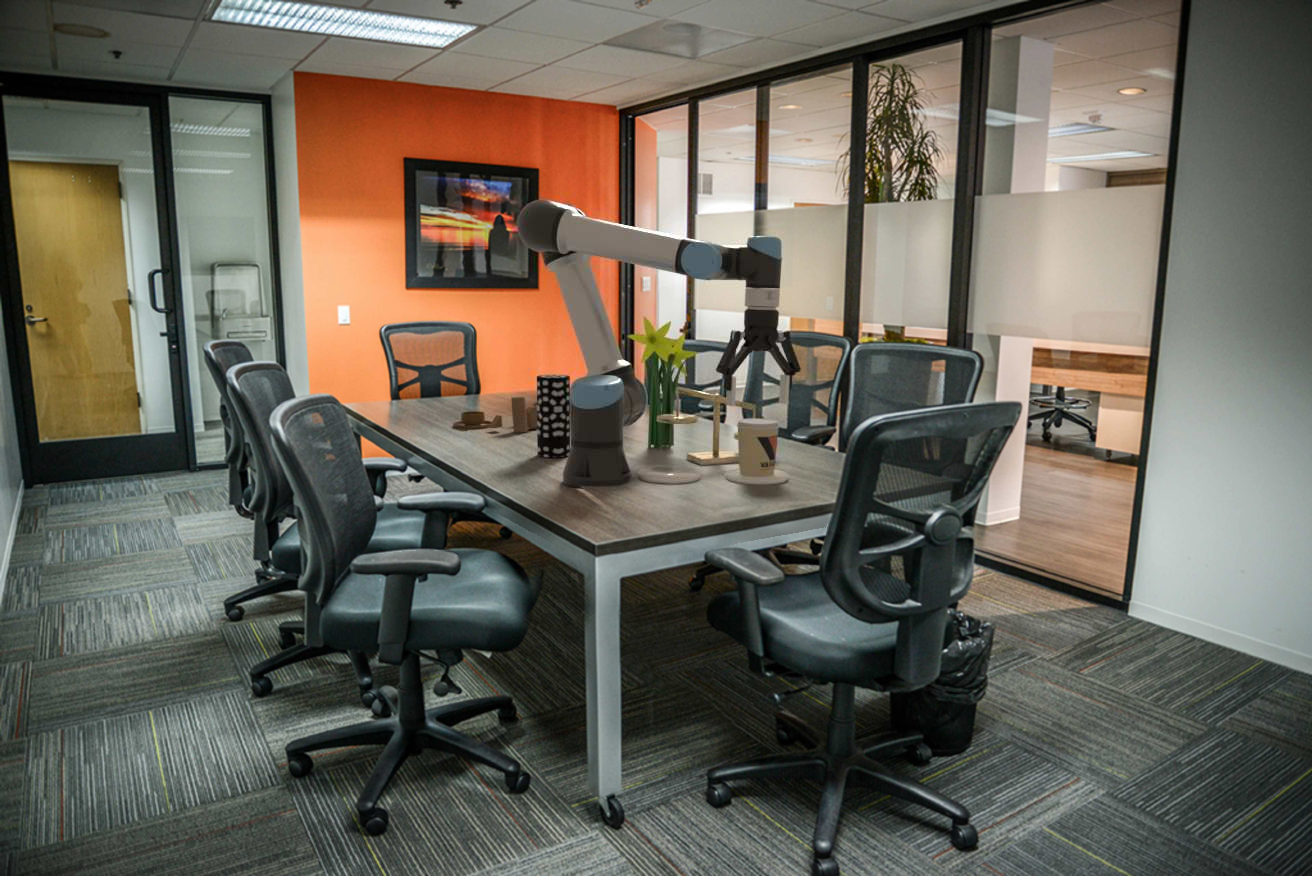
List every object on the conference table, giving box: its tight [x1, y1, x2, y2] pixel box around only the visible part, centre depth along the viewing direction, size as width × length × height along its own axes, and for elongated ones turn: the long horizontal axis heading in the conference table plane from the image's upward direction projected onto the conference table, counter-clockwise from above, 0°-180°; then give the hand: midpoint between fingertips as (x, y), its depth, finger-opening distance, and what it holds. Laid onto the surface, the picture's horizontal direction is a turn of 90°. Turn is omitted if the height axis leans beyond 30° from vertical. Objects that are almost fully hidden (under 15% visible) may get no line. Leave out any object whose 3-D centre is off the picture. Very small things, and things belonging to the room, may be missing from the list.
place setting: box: [452, 410, 492, 432], centre depth 270 cm, size 18×20×6 cm
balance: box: [657, 386, 757, 466], centre depth 221 cm, size 31×10×19 cm, turn 114°
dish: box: [725, 467, 789, 486], centre depth 202 cm, size 14×14×1 cm
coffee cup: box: [736, 417, 780, 477], centre depth 201 cm, size 9×9×12 cm
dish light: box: [638, 466, 701, 485], centre depth 202 cm, size 14×14×1 cm
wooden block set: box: [487, 396, 537, 434], centre depth 264 cm, size 18×9×10 cm, turn 131°
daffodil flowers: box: [627, 316, 699, 449], centre depth 236 cm, size 17×15×35 cm
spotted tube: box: [536, 374, 571, 458], centre depth 226 cm, size 8×8×20 cm
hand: (757, 404), depth 199 cm, fingers open, 13 cm apart
